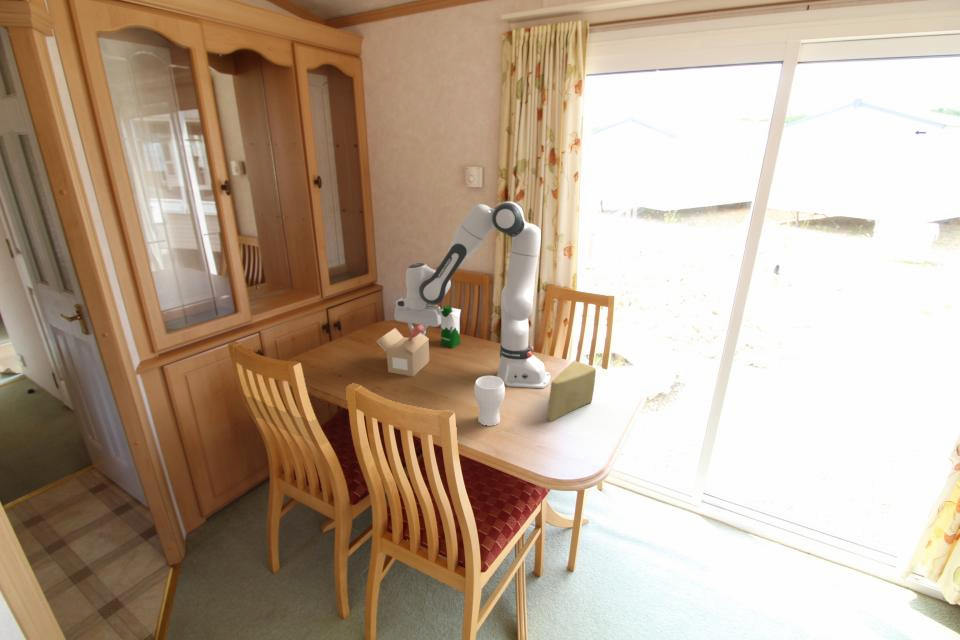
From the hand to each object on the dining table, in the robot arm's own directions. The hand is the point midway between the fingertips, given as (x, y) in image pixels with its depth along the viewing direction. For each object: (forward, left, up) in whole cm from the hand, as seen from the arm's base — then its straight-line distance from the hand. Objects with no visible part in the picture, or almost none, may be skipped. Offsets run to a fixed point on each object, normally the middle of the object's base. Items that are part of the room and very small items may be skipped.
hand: (418, 333), depth 184 cm
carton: (+5, 0, -17) cm, 17 cm away
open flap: (+13, 0, -5) cm, 14 cm away
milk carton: (-3, -29, -17) cm, 34 cm away
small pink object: (+2, 0, -4) cm, 5 cm away
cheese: (-66, +13, -17) cm, 69 cm away
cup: (-41, +29, -17) cm, 53 cm away
